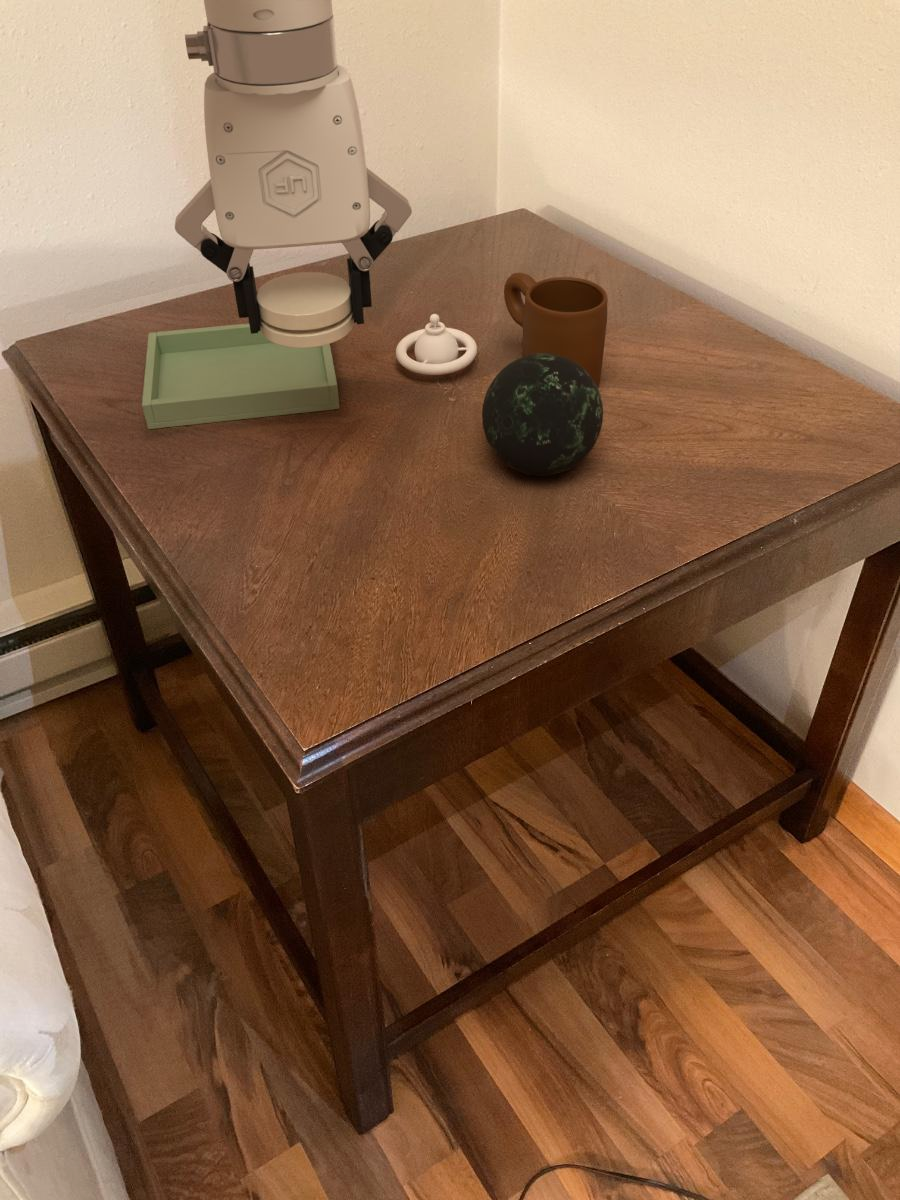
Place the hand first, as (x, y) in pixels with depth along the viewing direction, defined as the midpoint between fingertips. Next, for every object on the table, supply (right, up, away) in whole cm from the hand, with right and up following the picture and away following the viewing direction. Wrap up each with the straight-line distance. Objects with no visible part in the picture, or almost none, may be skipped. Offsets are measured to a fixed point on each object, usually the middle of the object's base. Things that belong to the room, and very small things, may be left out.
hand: (306, 318), depth 72 cm
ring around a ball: (+9, +2, +26) cm, 27 cm away
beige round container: (0, -1, +1) cm, 1 cm away
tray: (-10, +1, +24) cm, 26 cm away
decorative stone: (+18, -9, +13) cm, 24 cm away
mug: (+20, +1, +24) cm, 31 cm away
